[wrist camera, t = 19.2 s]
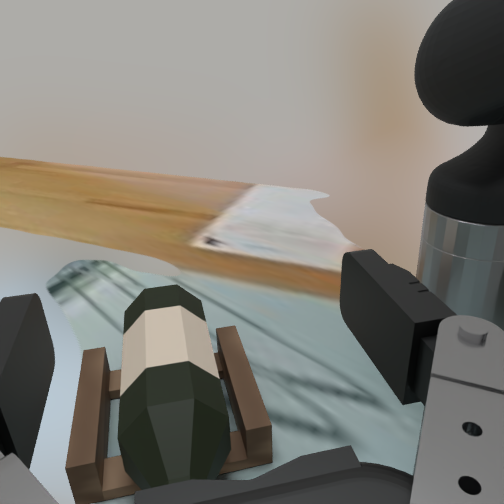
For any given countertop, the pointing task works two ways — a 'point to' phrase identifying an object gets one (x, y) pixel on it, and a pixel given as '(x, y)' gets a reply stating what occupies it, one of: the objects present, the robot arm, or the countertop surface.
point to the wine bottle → (170, 392)
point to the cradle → (108, 387)
